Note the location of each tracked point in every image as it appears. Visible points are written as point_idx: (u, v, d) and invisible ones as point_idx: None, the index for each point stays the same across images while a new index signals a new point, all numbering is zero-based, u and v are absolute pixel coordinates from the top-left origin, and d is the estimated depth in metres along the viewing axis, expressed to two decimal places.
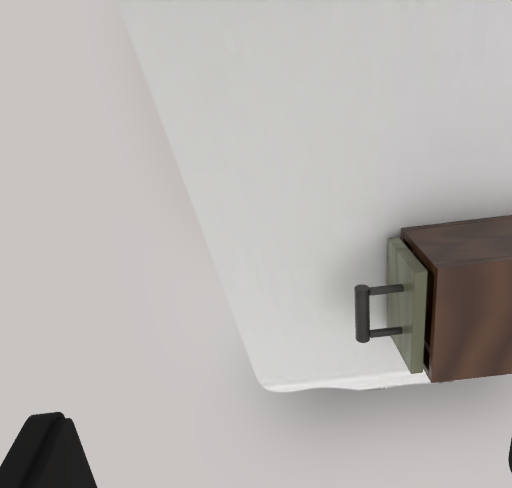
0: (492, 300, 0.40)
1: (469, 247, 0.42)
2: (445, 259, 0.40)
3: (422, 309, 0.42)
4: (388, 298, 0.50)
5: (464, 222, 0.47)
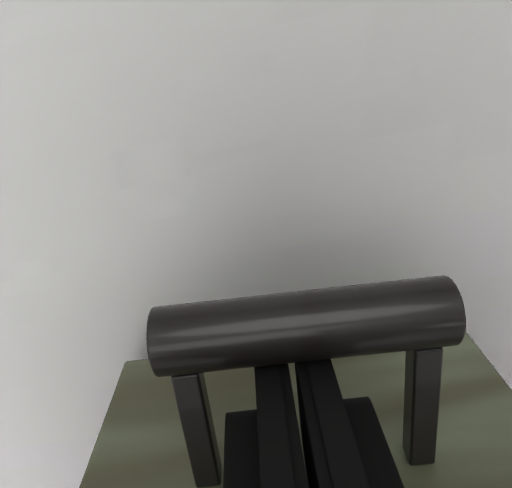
0: None
1: None
2: None
3: None
4: None
5: None
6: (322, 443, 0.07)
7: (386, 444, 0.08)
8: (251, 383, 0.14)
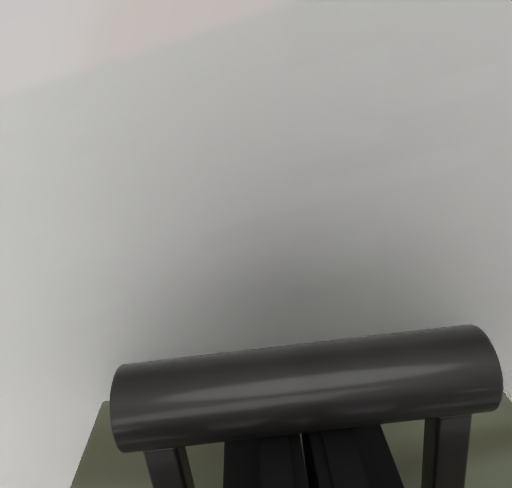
0: None
1: None
2: None
3: None
4: None
5: None
6: (322, 443, 0.07)
7: (386, 444, 0.08)
8: None
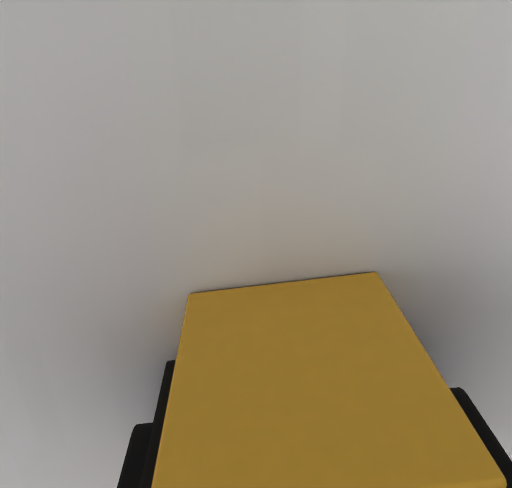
0: None
1: None
2: None
3: None
4: None
5: None
6: None
7: (492, 434, 0.08)
8: None
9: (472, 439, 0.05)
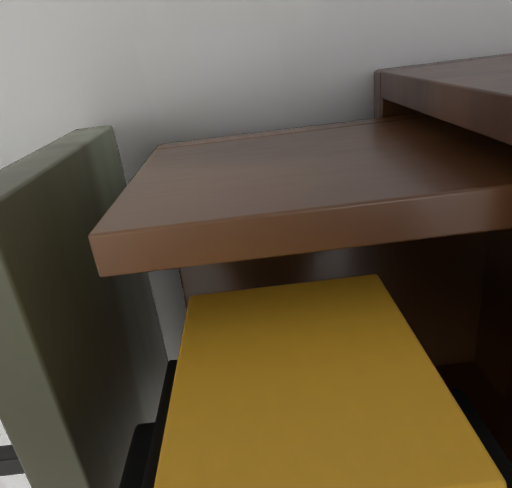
0: None
1: None
2: None
3: (43, 412, 0.08)
4: None
5: None
6: None
7: (490, 434, 0.08)
8: None
9: (472, 442, 0.05)
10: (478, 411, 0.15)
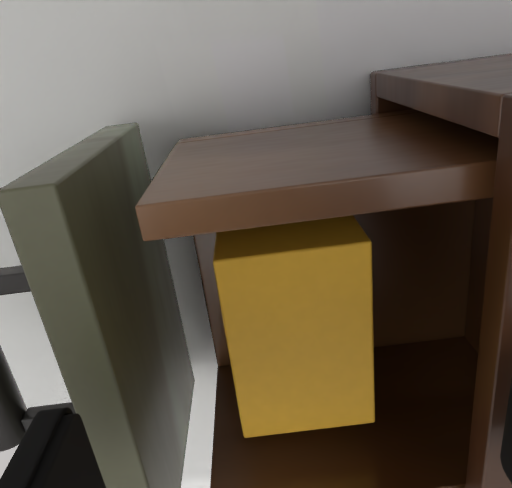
0: None
1: None
2: None
3: (94, 357, 0.10)
4: None
5: None
6: None
7: None
8: None
9: (361, 233, 0.12)
10: (466, 377, 0.16)
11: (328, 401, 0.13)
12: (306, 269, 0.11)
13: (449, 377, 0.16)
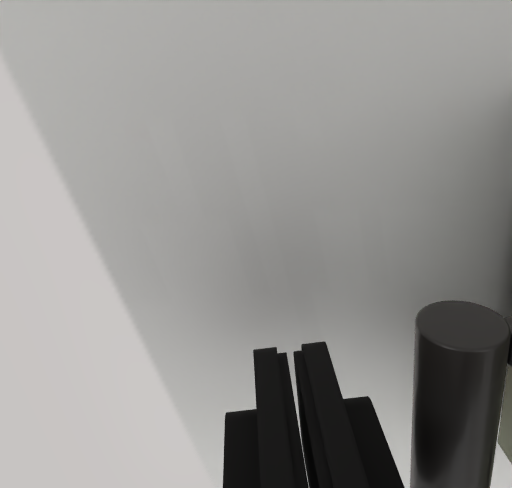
0: None
1: None
2: None
3: None
4: None
5: None
6: (322, 443, 0.07)
7: (386, 444, 0.08)
8: None
9: None
10: None
11: None
12: None
13: None
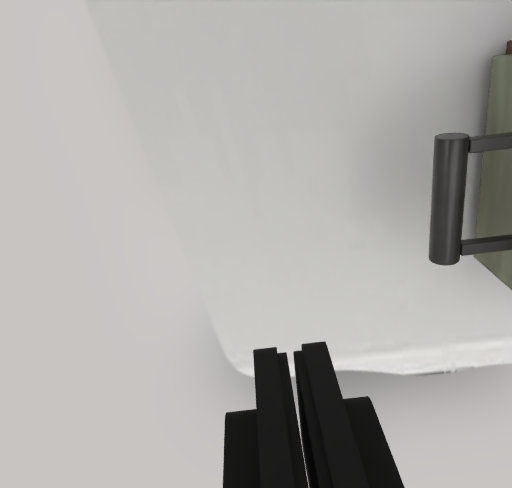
0: None
1: None
2: None
3: None
4: (483, 190, 0.25)
5: None
6: (322, 443, 0.07)
7: (386, 444, 0.08)
8: (495, 199, 0.24)
9: None
10: None
11: None
12: None
13: None
